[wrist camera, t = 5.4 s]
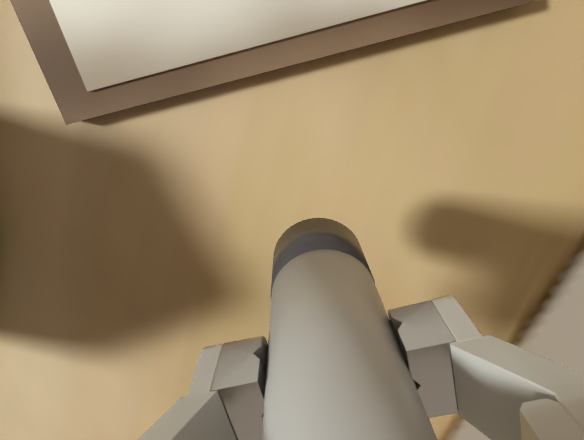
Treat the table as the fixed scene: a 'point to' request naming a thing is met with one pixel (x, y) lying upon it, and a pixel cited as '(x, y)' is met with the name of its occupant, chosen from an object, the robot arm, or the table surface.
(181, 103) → the table surface
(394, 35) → the clipboard
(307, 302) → the marker
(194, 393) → the robot arm
